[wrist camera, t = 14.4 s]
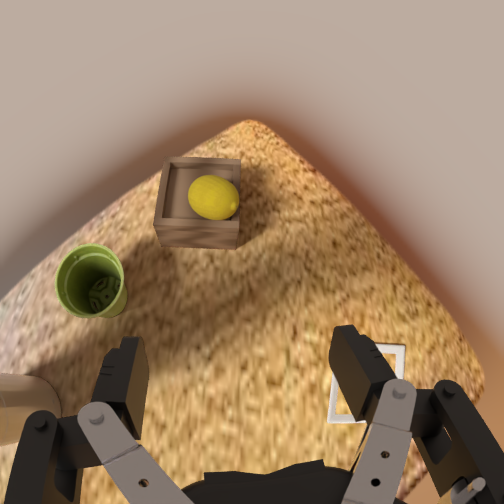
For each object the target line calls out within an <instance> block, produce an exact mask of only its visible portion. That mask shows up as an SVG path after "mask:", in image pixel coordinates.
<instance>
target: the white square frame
mask: <svg viewBox="0 0 504 504" xmlns="http://www.w3.org/2000/svg"><path fill="white" fill-rule="evenodd" d="M376 346H377V347H378V350H380V352H381V353H392V354H396V369H395V375H396V376H397V378H398V379H404V364H405V345H390V344H376ZM337 393H338V382H337V380H336V378H335V376H334V374H333V373H332V383H331V393H330V402H329V410H328V418H327V423H366V421H365V420H363V421H359V422H356V421H355V419H354V417H353V415H338V414H335V410H336V402H337Z"/></svg>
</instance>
